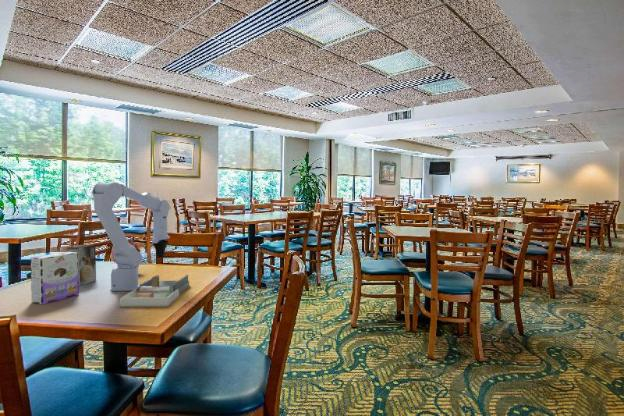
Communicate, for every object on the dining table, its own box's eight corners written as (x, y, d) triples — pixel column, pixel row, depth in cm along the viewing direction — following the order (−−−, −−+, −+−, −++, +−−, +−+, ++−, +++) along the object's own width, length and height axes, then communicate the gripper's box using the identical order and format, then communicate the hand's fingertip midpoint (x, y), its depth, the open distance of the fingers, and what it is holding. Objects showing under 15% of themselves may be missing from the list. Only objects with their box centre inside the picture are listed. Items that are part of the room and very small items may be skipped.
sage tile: (153, 299, 136) (153, 294, 136) (158, 296, 140) (157, 291, 140) (165, 299, 136) (165, 294, 136) (168, 296, 140) (168, 291, 140)
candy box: (69, 293, 146) (68, 251, 145) (79, 294, 144) (78, 252, 143) (30, 302, 133) (29, 256, 132) (41, 304, 131) (40, 257, 130)
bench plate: (138, 296, 142) (138, 284, 141) (155, 285, 159) (155, 274, 158) (176, 296, 142) (176, 284, 142) (189, 285, 159) (189, 274, 159)
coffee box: (84, 280, 167) (83, 244, 167) (96, 280, 166) (96, 244, 165) (66, 285, 158) (66, 247, 158) (79, 285, 157) (79, 247, 156)
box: (120, 306, 129) (120, 298, 129) (135, 296, 142) (135, 288, 141) (167, 306, 130) (167, 297, 130) (178, 296, 142) (178, 288, 142)
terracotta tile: (138, 299, 136) (138, 294, 136) (142, 296, 140) (142, 291, 140) (149, 299, 136) (149, 294, 136) (153, 296, 140) (153, 291, 140)
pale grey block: (139, 291, 139) (139, 277, 139) (142, 290, 141) (142, 275, 141) (169, 291, 139) (169, 277, 139) (171, 290, 141) (171, 275, 141)
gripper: (163, 228, 159) (164, 260, 160) (174, 225, 174) (175, 254, 174) (146, 228, 159) (147, 260, 160) (159, 225, 174) (159, 254, 174)
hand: (160, 257), depth 167 cm, fingers closed
